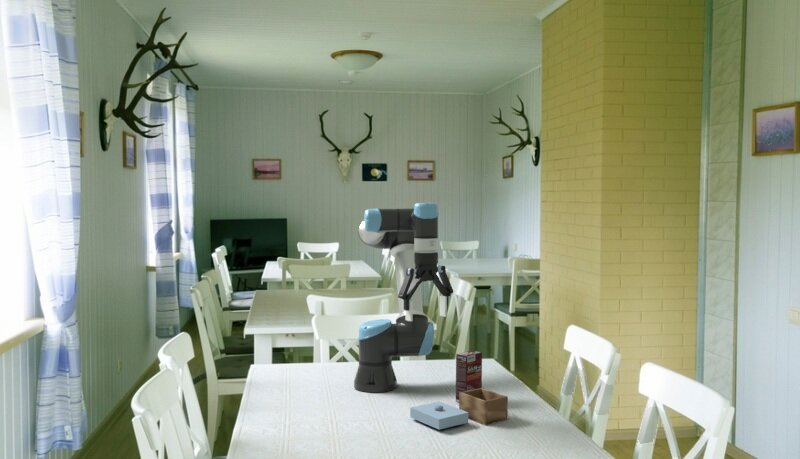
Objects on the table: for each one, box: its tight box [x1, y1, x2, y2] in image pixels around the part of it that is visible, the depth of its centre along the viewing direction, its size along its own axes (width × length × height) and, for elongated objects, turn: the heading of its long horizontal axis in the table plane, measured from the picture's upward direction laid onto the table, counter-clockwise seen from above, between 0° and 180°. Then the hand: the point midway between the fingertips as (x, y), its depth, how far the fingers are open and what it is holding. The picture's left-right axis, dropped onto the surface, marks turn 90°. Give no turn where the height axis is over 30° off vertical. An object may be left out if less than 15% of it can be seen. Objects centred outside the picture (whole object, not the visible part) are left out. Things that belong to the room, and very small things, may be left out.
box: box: [458, 387, 509, 426], centre depth 219 cm, size 12×9×7 cm
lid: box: [409, 400, 469, 431], centre depth 214 cm, size 14×11×5 cm
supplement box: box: [455, 349, 483, 403], centre depth 237 cm, size 9×5×16 cm, turn 137°
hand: (426, 318), depth 228 cm, fingers open, 13 cm apart
